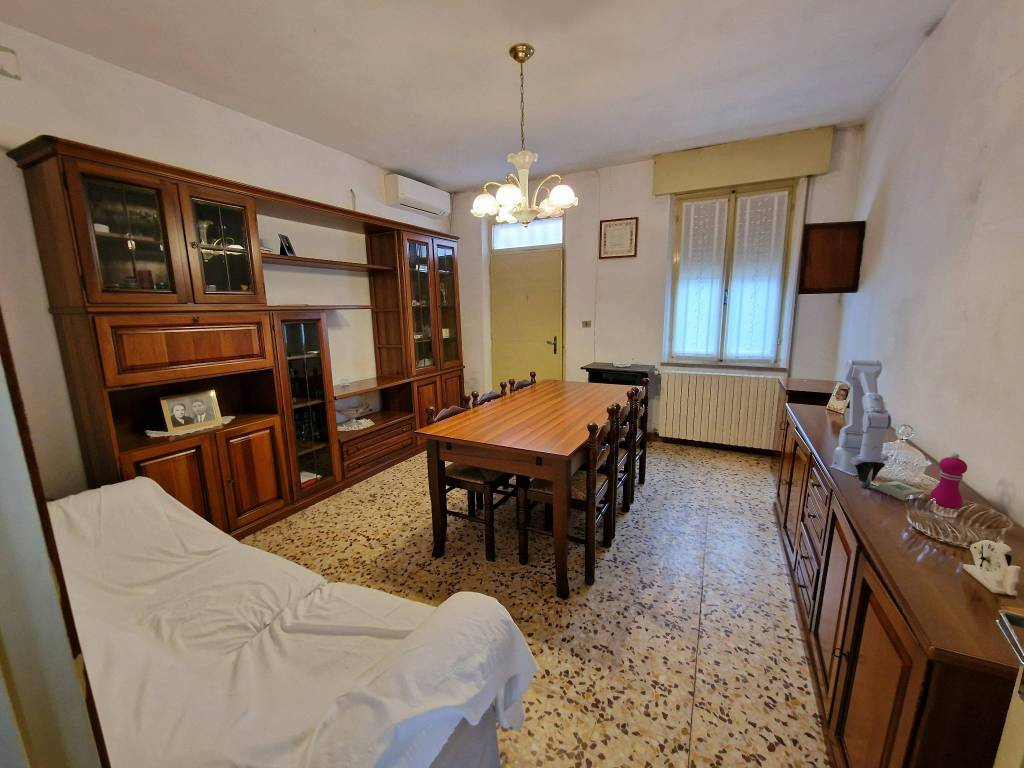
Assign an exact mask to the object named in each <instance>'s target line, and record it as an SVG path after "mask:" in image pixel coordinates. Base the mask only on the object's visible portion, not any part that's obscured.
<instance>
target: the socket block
mask: <svg viewBox="0 0 1024 768" xmlns="http://www.w3.org/2000/svg"><path fill="white" fill-rule="evenodd" d="M877 490H878V491H879V490H880V492H881V491H883V492H882V493H884V492H885V493H884V494H886V493H887V494H886V495H889V496H891V495H892V496H891V497H893V496H894V498H896V499H899V500H901V501H903V502H905V501H907V500H906V498H907V497H908V496H909V495H916V494H922V495H923V493H924V490H921V489H919V488H916V487H913V486H912V485H911V486H910V485H907V484H906V483H903V482H901V481H898V480H894V481H889V482H882V483H879V484H878V489H877Z"/></svg>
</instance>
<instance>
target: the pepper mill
mask: <svg viewBox="0 0 1024 768" xmlns="http://www.w3.org/2000/svg"><path fill="white" fill-rule="evenodd" d="M938 466H939V469H940V470H939V476H940V479H939V480H940V481H939V482H938V484H937V485H936V487H935V488H934V489H933V490H931V492H930V494H929V500H930V499H933V498H935V499H936V500H935V501H936V504H938V505H939V506H941V507H944V508H950V509H956V508H958V509H960V508H961V507H963V497H962V494H961V492H960V482H961V481H962V480H963V477H964V475H963V474H965V473H966V472H967V470H968V465H967V463H966V462H965V461H964V460H962V459H960V455H959V453H955V452H954V453H951V455H950V456H948V457H947V456H946V457H944V458H942V459H940V461H939V463H938Z"/></svg>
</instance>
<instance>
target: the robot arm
mask: <svg viewBox="0 0 1024 768" xmlns="http://www.w3.org/2000/svg"><path fill="white" fill-rule="evenodd" d="M882 370H883V365H882V362H881V360H879V359H875V360H872V359H871V360H870V359H853V358H849V359H848V360H847V361H846V362H845V366H844V380H845V382H847V383H849V419H848V420H849V421H848V424H846V425H845V426H843V427H842V428H841V429H840V430H839V435H838V446H837V447H836V448H835V449H834V451H833V457H832V464H831V465H830V468H832V469H835V470H838V471H840V472H843V473H845V474H847V475H849V476H853V477H856V475H857V476H858V478H857V479H858V481H859V482H861V481H862V482H866V481H867V479H868V476H869V473H870V471H871V470H872V468H873V467H874V469H873V474H872V480H871V482H874V481H875V479H876V477H877V476H878V474H879V473H880V471H881V470H882V469H883V468H884V467H885V466H886V463H885V462H887V461H889V458H890V455H888V454H886V453H883V450H884V449H883V448H884V443H885V437H886V432H887V430H889V429H890V427H891V425H892V417H891V414H890V413H889V411H888V410H887V409H886V407H885V402H884V397H883V395H881V394H879V393H878V382H877V381H878V380H877V379H879V377H880V375H881V373H882ZM884 461H885V462H884ZM869 464H871V465H873V466H871V465H869Z"/></svg>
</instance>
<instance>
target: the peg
mask: <svg viewBox="0 0 1024 768" xmlns="http://www.w3.org/2000/svg"><path fill="white" fill-rule="evenodd" d="M869 465H871V464H869ZM871 466H873V465H871ZM873 469H874V467H873V468H872V470H871V471H870V473H869V476H868V479H867V481H866V482H862V481H860V484H859V485H860V486H861V487H863V488H866V489H867V488H871V485H872V481H871V480H872V474H873Z"/></svg>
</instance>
